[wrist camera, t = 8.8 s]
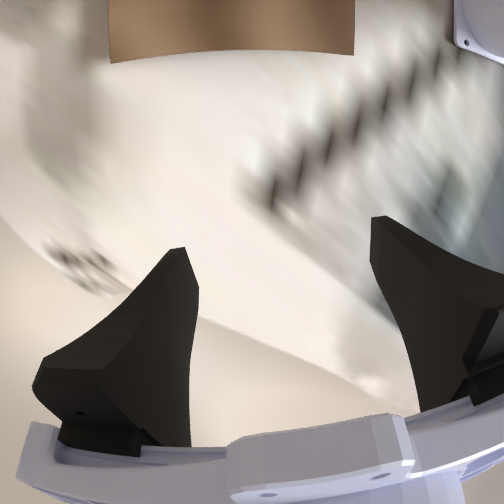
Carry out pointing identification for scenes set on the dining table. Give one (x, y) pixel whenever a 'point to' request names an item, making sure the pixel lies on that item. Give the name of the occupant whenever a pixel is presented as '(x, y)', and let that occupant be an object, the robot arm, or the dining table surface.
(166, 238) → the dining table surface
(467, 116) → the dining table surface
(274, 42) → the tan square board
